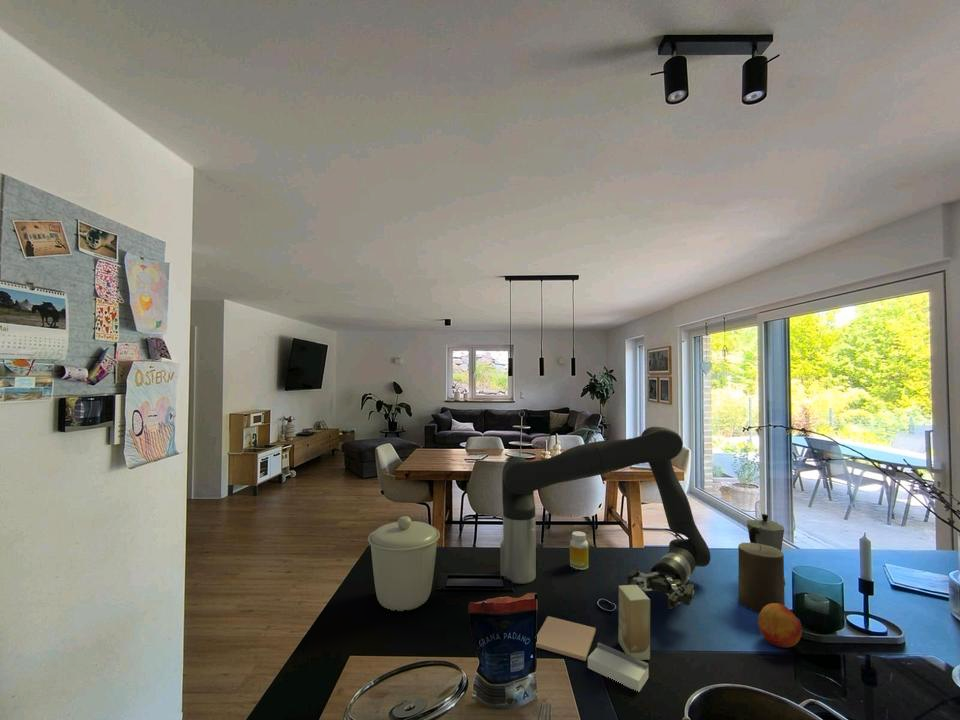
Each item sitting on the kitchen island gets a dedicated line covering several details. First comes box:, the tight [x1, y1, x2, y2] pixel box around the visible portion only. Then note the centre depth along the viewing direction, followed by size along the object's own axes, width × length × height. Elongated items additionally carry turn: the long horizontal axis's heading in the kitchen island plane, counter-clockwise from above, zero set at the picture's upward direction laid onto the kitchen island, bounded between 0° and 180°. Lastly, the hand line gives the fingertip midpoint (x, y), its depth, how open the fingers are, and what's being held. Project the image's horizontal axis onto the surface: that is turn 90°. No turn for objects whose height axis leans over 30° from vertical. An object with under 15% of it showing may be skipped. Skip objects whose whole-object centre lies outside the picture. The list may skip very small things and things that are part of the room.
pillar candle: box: [737, 542, 786, 614], centre depth 108 cm, size 10×10×15 cm
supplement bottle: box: [569, 531, 589, 571], centre depth 129 cm, size 5×5×10 cm
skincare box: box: [617, 584, 651, 661], centre depth 89 cm, size 6×4×12 cm
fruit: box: [757, 603, 803, 649], centre depth 92 cm, size 8×8×8 cm
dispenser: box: [587, 642, 650, 693], centre depth 83 cm, size 10×5×3 cm, turn 50°
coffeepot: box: [746, 513, 786, 585], centre depth 121 cm, size 15×9×18 cm, turn 125°
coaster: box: [535, 615, 596, 662], centre depth 93 cm, size 11×11×1 cm
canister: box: [367, 515, 441, 612], centre depth 109 cm, size 18×18×21 cm
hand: (649, 597), depth 97 cm, fingers open, 8 cm apart
